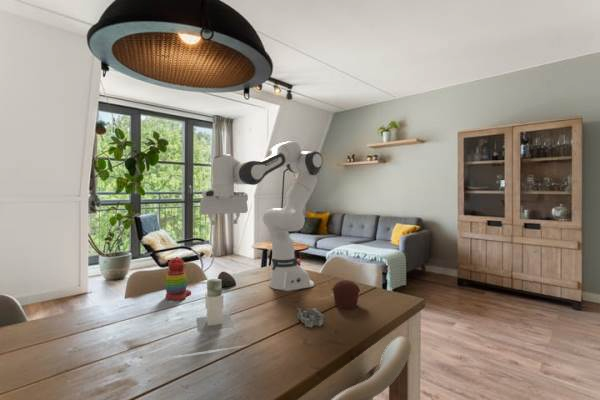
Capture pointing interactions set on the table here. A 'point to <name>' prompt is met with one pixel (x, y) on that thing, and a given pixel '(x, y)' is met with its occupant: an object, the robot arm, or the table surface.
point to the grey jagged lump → (310, 317)
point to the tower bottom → (214, 317)
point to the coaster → (204, 326)
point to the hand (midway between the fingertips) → (224, 224)
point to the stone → (226, 279)
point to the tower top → (214, 303)
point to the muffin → (346, 294)
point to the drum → (214, 287)
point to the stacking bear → (176, 280)
